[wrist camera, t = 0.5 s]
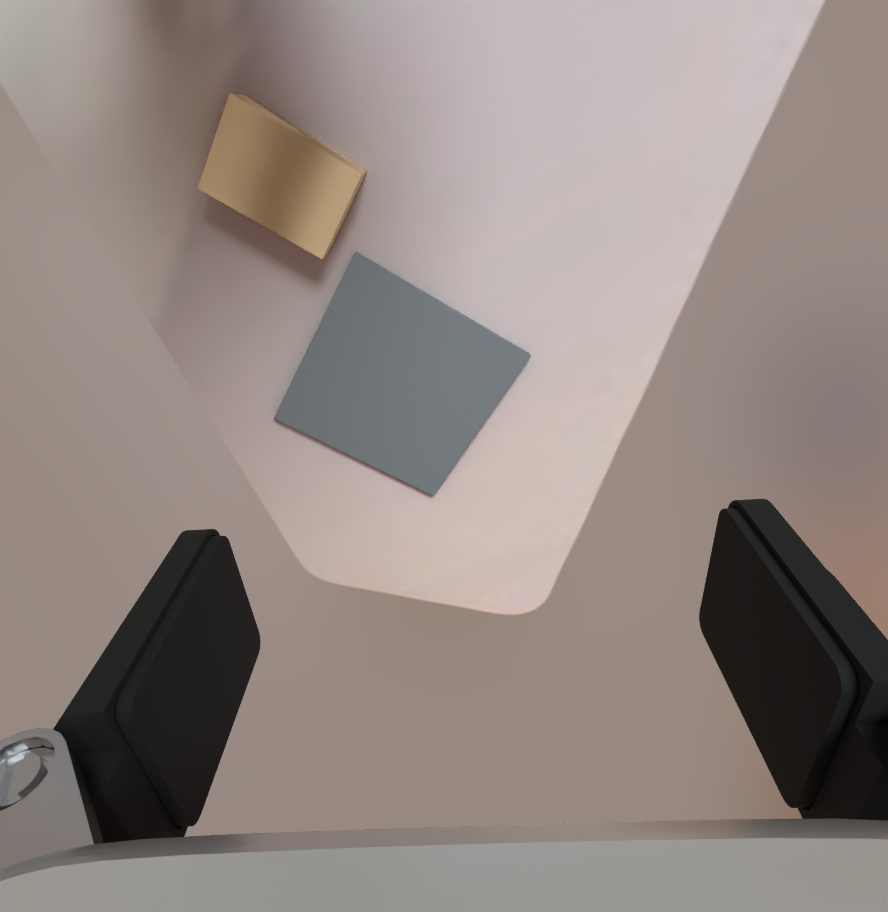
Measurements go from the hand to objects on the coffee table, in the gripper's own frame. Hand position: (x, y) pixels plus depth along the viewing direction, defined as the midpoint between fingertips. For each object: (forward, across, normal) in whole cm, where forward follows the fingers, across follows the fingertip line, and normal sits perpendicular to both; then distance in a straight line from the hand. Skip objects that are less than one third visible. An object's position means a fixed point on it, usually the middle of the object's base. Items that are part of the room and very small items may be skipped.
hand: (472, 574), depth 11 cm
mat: (+32, +5, +9) cm, 33 cm away
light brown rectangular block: (+32, +10, -5) cm, 34 cm away
